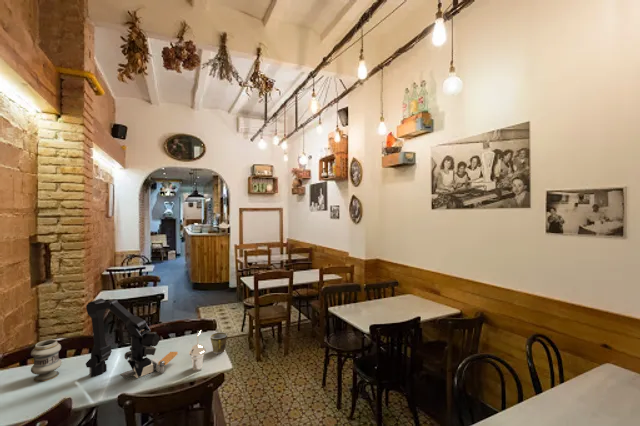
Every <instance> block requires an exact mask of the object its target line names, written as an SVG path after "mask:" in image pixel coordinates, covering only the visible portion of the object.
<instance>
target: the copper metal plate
mask: <svg viewBox="0 0 640 426" xmlns="http://www.w3.org/2000/svg"><path fill="white" fill-rule="evenodd" d="M177 355H178V351H170V352H168V353H167V354H166V355H165V356H164V357H162V359H161V360H160V359H159V362H158V365H160V366H164V367H165V366H166V365H167V364H169V363H170V362H171V361H172V360H173V359H174V358H176V356H177Z"/></svg>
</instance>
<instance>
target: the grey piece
mask: <svg viewBox="0 0 640 426" xmlns="http://www.w3.org/2000/svg"><path fill="white" fill-rule="evenodd" d="M159 361H160V359H158V358H157V357H155V358H152V359H151V363H152V364H153V372H151V373H148V374H146V375H143V376H142V378H143V379H144V378H145V379H146V378H148V377H151V376H154V374H157V376H159V375H163V374H166V372H165V365H164V366H160V365H158V362H159ZM132 372H133V370H132V369H130V370H128V371H125V372H123V373H120V374H119V375H120V376H122V377H123V379H124V375H126V374H129V373H132ZM132 378H136V377H135V376H134V375H133V376H130V377H127V378H125V379H124V380H125V381H128V383H132V384H133V383H138V382H136V379H134V381H135V382H134V381H132V380H131V379H132ZM138 379H141V377H138Z"/></svg>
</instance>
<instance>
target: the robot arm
mask: <svg viewBox="0 0 640 426" xmlns="http://www.w3.org/2000/svg"><path fill="white" fill-rule="evenodd" d="M118 301H119V300H117V299H115V298H113V299H107V298H106V299H104V298H97V299H95V300H93V301H89V302H88V303H87V304H86V305H85V309H86V312H87V315H88V316H89V317H90V318H91V326H92V328H91V329H92V335H93V347H92V350H91V352H90V358H89V359H88V360H87V361H86V363H85V367H86V368H88V369H89V374H88V376H90V377H91V378H92V377H98V376H100V375H103V374H104V373H106V372H107V371H108V370H107V363H106V362H107V361H108V360H109V358H110V356H111V354H112V344H108V343H107V342H106V334H105V333H106V332H105V323H104V322H105V321H104V315H105V312H106V310H109V311H110V312H112V314H114V315H115V316H116V317H117V318H118V319H120V320H121V321H122V322H123V323H124V324H125V328H126V330H127V331H128V333H129V334H128V335H126V337H127V338H130V347H129V351H126V352H125V353H124V359H125V360H126V361H127V363H128V365H129V366H130V369H131V370H132V371H133V372H134V368H135V371H136V373H137V375H138V378H139V377H140V376H141V374H142V371H143V368H144V367H146V366H148V365H151V363H152V359H150V358H149V357H147V356H148V355H150V356H155V353H156V351H157V348H156V347H157V346H158V345H159V343H160V336H159V334H157V333H158V332H157V331H152V332H151V328H150V326H148V324H147V321H146V320H145V319H143V318H142V317H139V316H136V315H133V313H131V312H130V311H129V310H128V309H126V308H125V307H124V306H123V305H122V304H121V303H120V302H118ZM141 377H142V376H141ZM141 377H140V378H141Z"/></svg>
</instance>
